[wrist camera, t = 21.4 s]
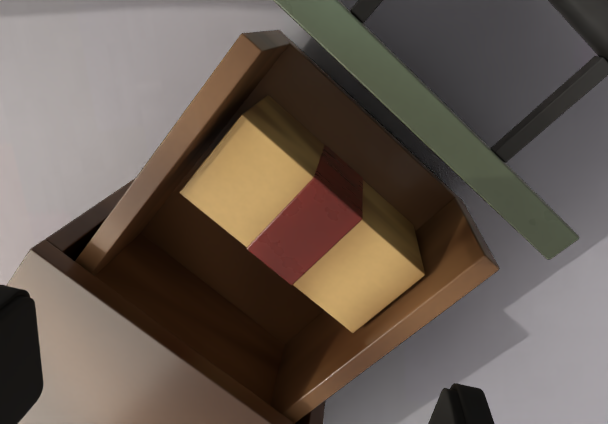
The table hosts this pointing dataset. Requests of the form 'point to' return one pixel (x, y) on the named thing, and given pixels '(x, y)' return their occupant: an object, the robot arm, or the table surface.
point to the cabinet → (119, 349)
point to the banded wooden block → (307, 215)
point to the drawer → (361, 158)
